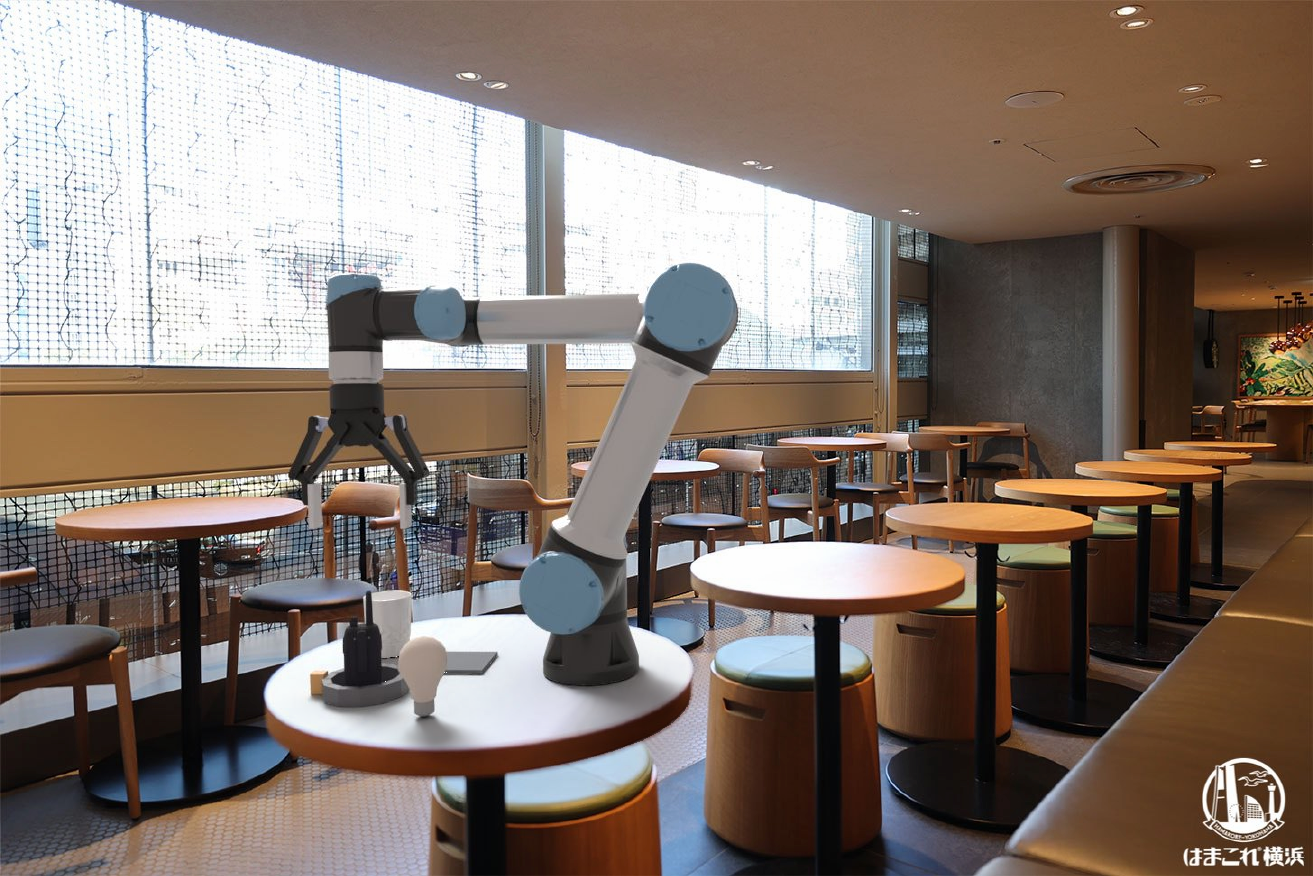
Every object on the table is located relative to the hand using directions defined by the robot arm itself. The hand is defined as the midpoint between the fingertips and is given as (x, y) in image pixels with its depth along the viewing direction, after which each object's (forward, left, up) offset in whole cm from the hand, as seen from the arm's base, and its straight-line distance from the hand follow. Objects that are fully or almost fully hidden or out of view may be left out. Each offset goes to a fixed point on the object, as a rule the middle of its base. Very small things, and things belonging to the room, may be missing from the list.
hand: (360, 527), depth 128 cm
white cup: (+4, -20, -25) cm, 32 cm away
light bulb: (-12, +10, -25) cm, 29 cm away
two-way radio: (0, 0, -25) cm, 25 cm away
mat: (-10, -14, -24) cm, 30 cm away
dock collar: (+1, 0, -25) cm, 25 cm away
